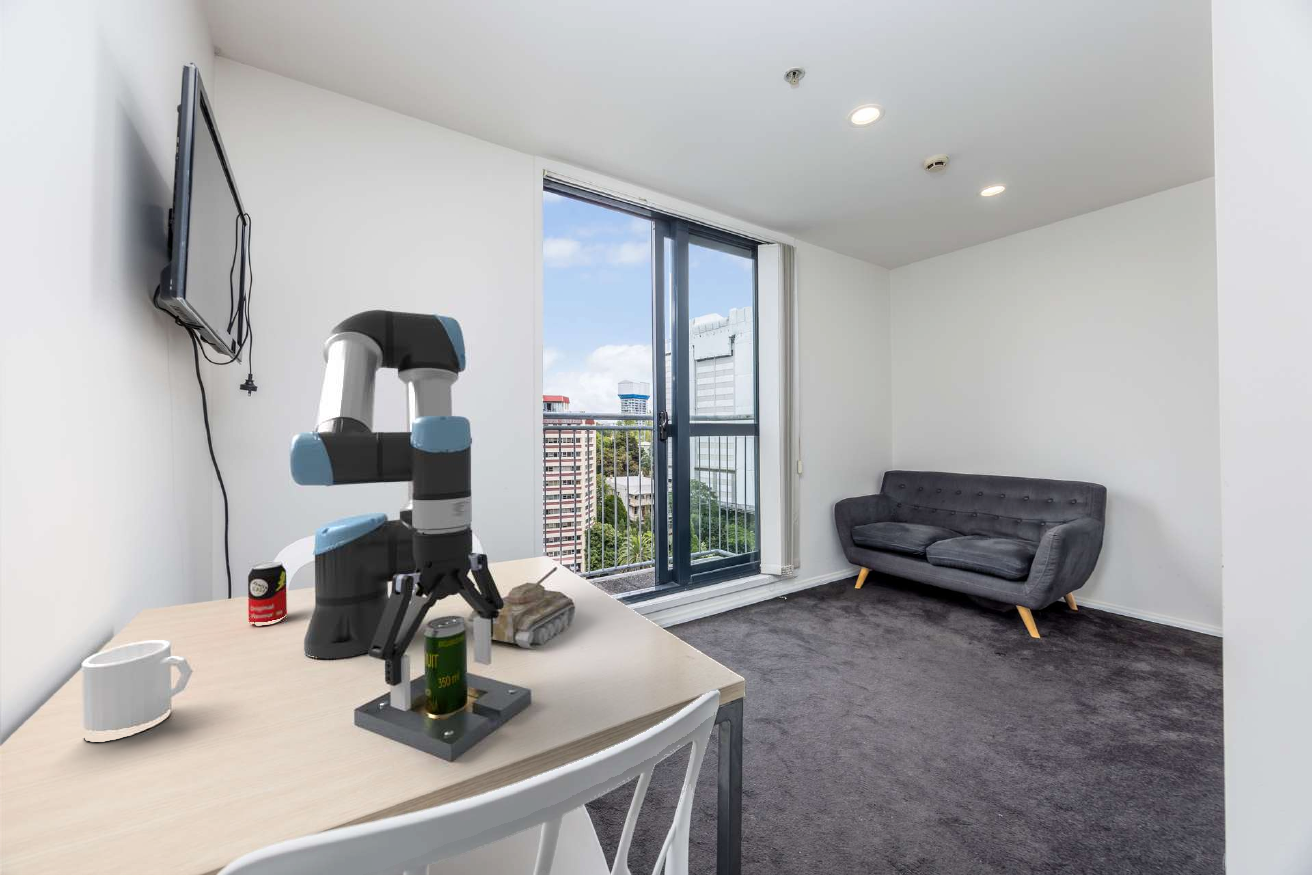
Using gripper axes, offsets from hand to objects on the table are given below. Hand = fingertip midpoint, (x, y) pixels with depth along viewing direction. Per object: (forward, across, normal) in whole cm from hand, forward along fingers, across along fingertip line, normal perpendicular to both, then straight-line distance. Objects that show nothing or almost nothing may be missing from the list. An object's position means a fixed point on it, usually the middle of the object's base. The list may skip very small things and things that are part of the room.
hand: (445, 683), depth 68 cm
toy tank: (+5, +29, +10) cm, 32 cm away
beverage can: (+4, +9, +63) cm, 64 cm away
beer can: (+4, 0, 0) cm, 4 cm away
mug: (+4, -19, +35) cm, 40 cm away
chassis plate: (+4, 0, 0) cm, 4 cm away
